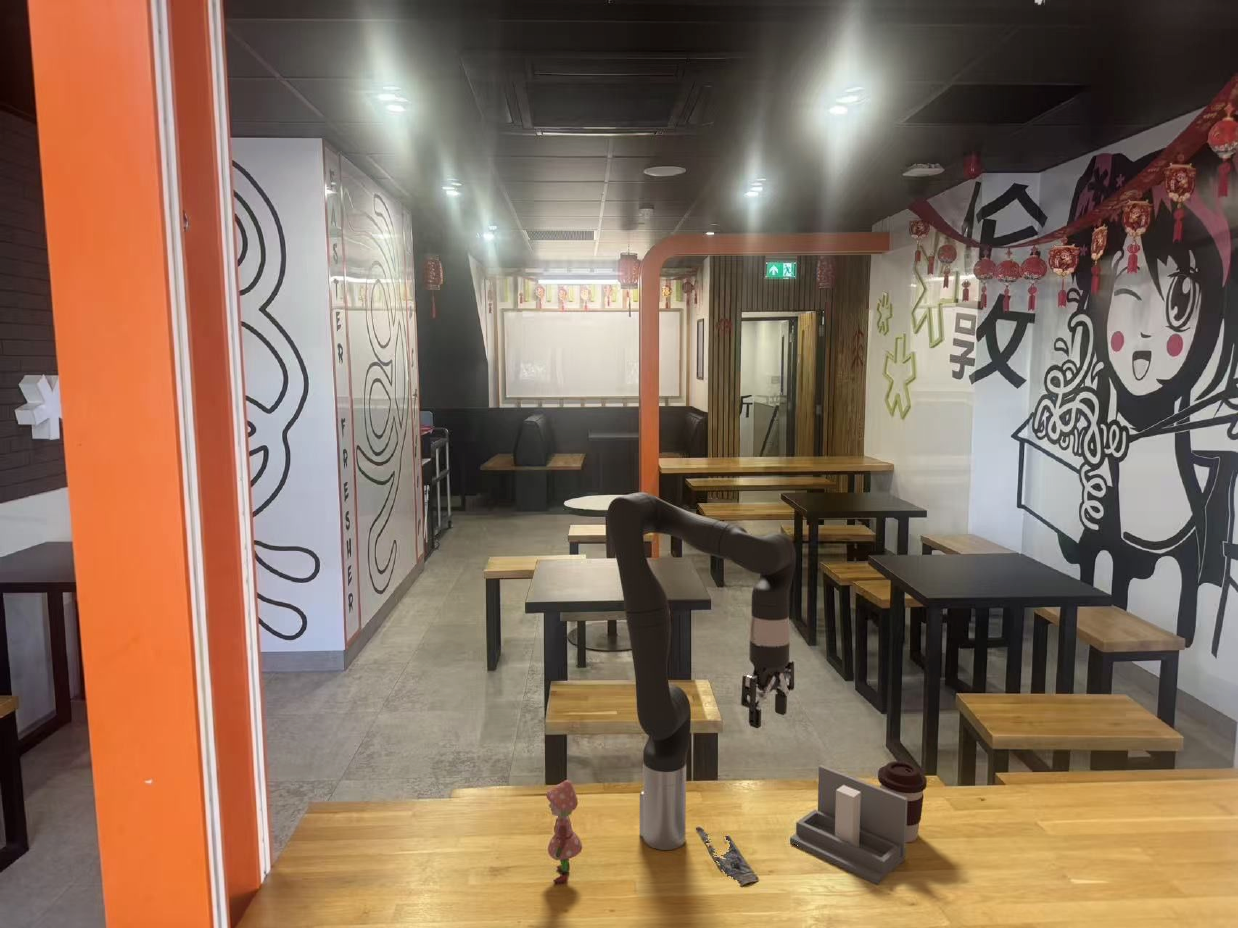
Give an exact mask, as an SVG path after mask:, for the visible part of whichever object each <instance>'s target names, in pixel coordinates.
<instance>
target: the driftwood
mask: <svg viewBox="0 0 1238 928" xmlns="http://www.w3.org/2000/svg"><path fill="white" fill-rule="evenodd" d="M695 830H696V831H697V834H698V835H699V836H700V838H701V839H702V841H703V843H704V844H705V845H706V843H710V841H709V840H711V838H710V839H709V840H708V838H707V837H709V836H708V835H709V834H710V833H707V832H708V830H707V831H706V832H705V829H704V828H702V827H700V826H696V827H695ZM725 837H726V840H728V841H730V842H729V844H730V847H729V849H728V850H729V852H726V854H724V855H721V856H723V857H724V858H726V859H722V858H720V857H714V856H717V855H714V854H713V853H715V851H714V850H716V848H715V847H714V846H713V845H712V844H710V845H709V847H707V846H706V847H707V849H708V852H709V853H710V855H711V857H712V858H713V861H714V862H715V861H718V862H719V863H716V862H715V864H716V866H717V867H718V866H719V867H718V869H719V870H720V869H721V870H723V871H724V872H725V874H727V876H726V877H727V878H729V877H728V876H731V878H732V877H733V879H732V880H733V881H735V880H737V881H738V882H737V883H738V884H739V887H740V888H741V887H742V886H744V885H746V884H748V883H754V882H758V881H759V877H758V876H757V875H756V873H755V872H754V870H753V869H752V867H751V866H750V864H749V863H748V862H747V861H746V859H745V857H744V856H743V854H742V853H741V851H740V849H739V848H738V846H737V845H736V844H735V842H734V840H733V839H732V838H731V836H730V835H729V836H725ZM706 840H707V841H706ZM713 847H714V848H713ZM713 855H714V856H713ZM717 864H720V865H717ZM721 870H720V872H721V873H722V872H723V871H721Z"/></svg>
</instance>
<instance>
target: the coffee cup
mask: <svg viewBox="0 0 1238 928" xmlns="http://www.w3.org/2000/svg"><path fill="white" fill-rule="evenodd" d="M877 780H878V782H879V783H880V788H882V789H885V790H888V791H890V792H893V793H895V794H898V795H901V796H903V797H906V798H908V801H907V827H906V843H912V842H914V841H916V840H917V838H918V835H919V829H920V822H921V821H922V820H921V819H922V812H923V804H924V790H926V788H927V782H928V781H927V777H926V776H925V774H924V773H922V772H921V771H920V769H919V768H918V767H916V766H915V765H914V764H912V763H909V762H905V761H891V762H888V763H887V764H885V765H884V766H882V767H880V768H879V769H878V771H877Z"/></svg>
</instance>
